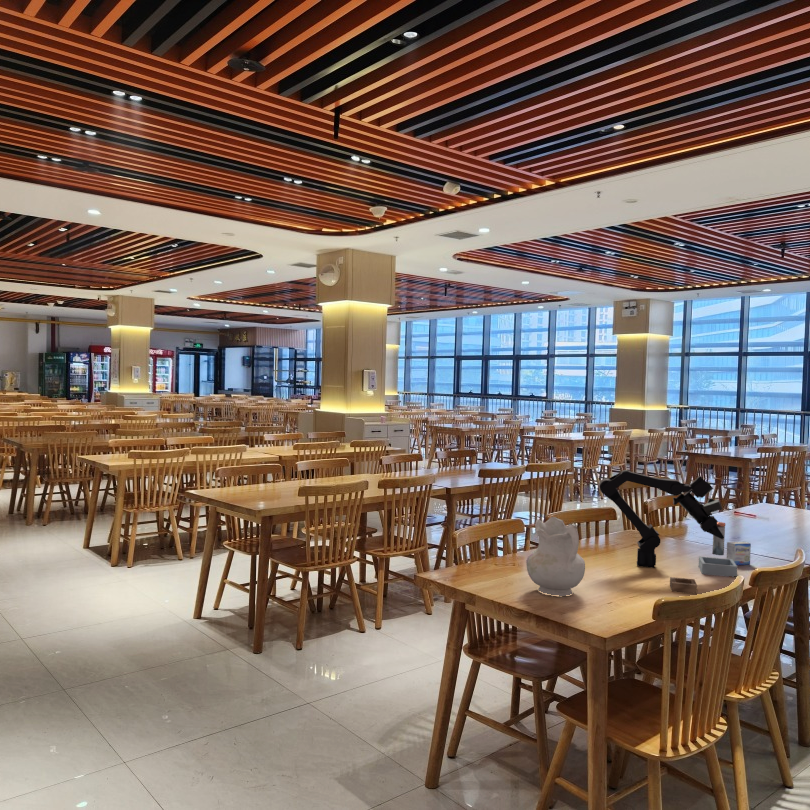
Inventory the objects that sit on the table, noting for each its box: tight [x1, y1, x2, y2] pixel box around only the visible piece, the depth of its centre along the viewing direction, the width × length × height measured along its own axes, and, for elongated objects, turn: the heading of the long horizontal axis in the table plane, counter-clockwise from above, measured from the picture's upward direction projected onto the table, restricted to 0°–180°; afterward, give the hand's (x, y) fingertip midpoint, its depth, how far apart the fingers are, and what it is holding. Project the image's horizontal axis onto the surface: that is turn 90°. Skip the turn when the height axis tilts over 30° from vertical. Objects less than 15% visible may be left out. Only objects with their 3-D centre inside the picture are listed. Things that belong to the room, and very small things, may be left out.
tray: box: [697, 555, 738, 578], centre depth 268 cm, size 12×12×4 cm
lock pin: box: [712, 521, 726, 556], centre depth 268 cm, size 4×4×12 cm
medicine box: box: [726, 541, 752, 566], centre depth 282 cm, size 8×4×9 cm, turn 105°
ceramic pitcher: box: [525, 516, 586, 596], centre depth 234 cm, size 22×20×25 cm
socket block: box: [669, 576, 698, 595], centre depth 242 cm, size 8×8×3 cm
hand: (722, 537), depth 267 cm, fingers closed on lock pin, 4 cm apart
